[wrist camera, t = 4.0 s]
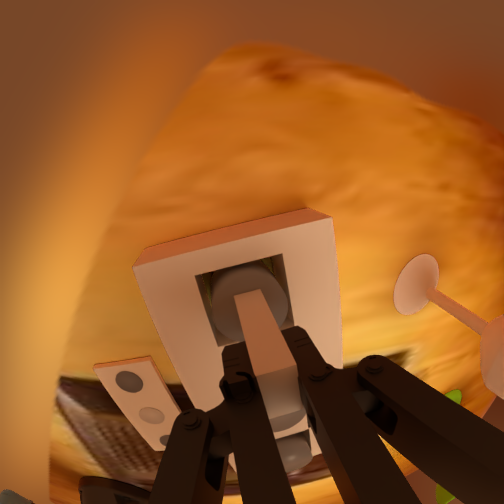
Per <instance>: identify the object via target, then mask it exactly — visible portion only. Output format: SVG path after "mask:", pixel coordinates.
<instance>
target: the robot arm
mask: <svg viewBox="0 0 504 504" xmlns="http://www.w3.org/2000/svg"><path fill="white" fill-rule="evenodd" d="M234 299H235V303H236V307H237V311H238V315H239V318H240V322H241V326H242V330H243V334H244V338H245V341H243V342H239V343H235V344H231V345H227V346H225V347H224V349H223V351H222V353H221V355H222V362H223V370H224V376H223V377H222V378H221V380H220V382H219V388H220V390H221V392H222V395H223V397H224V400H223V402H222V403H221V404H219V405H218V406H217V407H215V408H213V409H211V410H209V411H207V412H205V411H203V410H201V409H196V408H194V409H188V410H185V411H183V412H181V413H180V414H179V415H178V416H177V417H176V419H175V421H174V423H173V426H172V429H171V432H170V435H169V439H168V442H167V445H166V448H165V451H164V454H163V457H162V460H161V463H160V466H159V469H158V472H157V475H156V479H155V482H154V485H153V488H152V491H151V493H149V492H147V491H145V490H142V489H140V488H137V487H134V486H131V485H128V484H125V483H122V482H118V481H114V480H110V479H105V478H99V477H83V478H81V479H80V482H79V487H78V490H79V493H80V500H81V504H222V500H223V494H224V487H225V480H226V474H227V467H228V460H229V454H231V453H233V454H234V459H235V465H236V470H237V476H238V481H239V486H240V491H241V496H242V501H243V504H296V501H295V498H294V495H293V492H292V489H291V486H290V483H289V480H288V477H287V474H286V471H285V468H284V465H283V462H282V459H281V456H280V453H279V449H278V446H277V443H276V440H275V437H274V433H273V430H272V427H271V424H270V421H269V419H271V418H275V417H279V416H282V415H286V414H289V413H292V412H295V411H299V410H302V409H303V406H304V408H305V410H306V415H307V423H308V428H310V427H311V429H312V431H313V434H314V436H315V438H316V441H317V443H318V445H319V447H320V450H321V452H322V454H323V456H324V459H325V461H326V463H327V465H328V468H329V470H330V472H331V474H332V477H333V479H334V481H335V483H336V486H337V488H338V490H339V492H340V494H341V497H342V499H343V501H344V503H345V504H422V503H421V502H420V500H419V499H418V497H417V496H416V494H415V492H414V491H413V490H412V488H411V486H410V484H409V483H408V481H407V480H406V478H405V476H404V475H403V473H402V472H401V470H400V469H399V467H398V465H397V464H396V462H395V461H394V459H393V457H392V456H391V454H390V453H389V451H388V450H387V448H386V447H385V445H384V443H383V442H382V440H381V439H380V437H379V436H378V434H379V435H380V436H381V437H382V438H383V439H384V440H385V441H387V442H388V443H389V444H390V445H391V446H392V447H394V448H395V449H396V450H397V451H398V452H399V453H401V454H402V455H403V456H404V457H405V458H407V459H408V460H409V461H410V462H411V463H413V464H414V465H415V466H416V467H418V468H419V469H420V470H421V471H422V472H424V473H425V474H426V475H427V476H429V477H430V478H431V479H433V480H434V481H435V482H436V483H438V484H439V485H440V486H441V487H443V488H444V489H445V490H447V491H448V492H449V493H451V494H452V495H453V496H455V497H456V498H457V499H459V500H460V501H461V502H463V503H464V504H504V432H502V431H501V430H499V429H497V428H496V427H494V426H493V425H491V424H489V423H488V422H486V421H485V420H483V419H481V418H480V417H478V416H477V415H475V414H473V413H472V412H470V411H469V410H467V409H465V408H464V407H462V406H461V405H459V404H458V403H456V402H454V401H453V400H451V399H450V398H448V397H447V396H445V395H443V394H442V393H440V392H439V391H437V390H436V389H434V388H432V387H431V386H429V385H428V384H426V383H425V382H423V381H422V380H420V379H419V378H417V377H415V376H414V375H412V374H411V373H409V372H408V371H406V370H405V369H403V368H402V367H400V366H399V365H397V364H395V363H394V362H392V361H391V360H389V359H388V358H386V357H384V356H381V355H370V356H367V357H365V358H363V359H362V360H361V361H360V362H359V364H358V366H357V367H354V368H347V369H339V368H334V367H333V366H332V365H331V364H328V363H326V362H325V360H324V359H323V357H322V356H321V354H320V352H319V351H318V349H317V348H316V346H315V344H314V343H313V341H312V340H311V338H310V337H309V335H308V333H307V332H306V330H305V329H303V328H301V327H300V326H298V325H297V326H294V327H290V328H287V329H284V330H280V329H279V327H278V325H277V323H276V321H275V319H274V317H273V315H272V313H271V310H270V308H269V306H268V304H267V302H266V300H265V298H264V296H263V294H262V292H261V290H260V289H258V290H254V291H250V292H246V293H242V294H239V295H235V296H234ZM0 504H35V503H33V501H31V500H28V499H26V498H24V497H22V496H20V495H19V494H17V493H15V492H14V491H11V490H7V489H6V490H3V491H2V492H1V494H0Z"/></svg>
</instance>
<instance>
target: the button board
mask: <svg viewBox="0 0 504 504" xmlns="http://www.w3.org/2000/svg"><path fill="white" fill-rule="evenodd" d="M269 256H271V259H272V264H273V269H274V274H275V279H276V280H277V282H278V283H279V285H280V286H281V288H282V289H283V291H284V293H285V295H286V297H287V301H288V311H287V316H286V318H285V320H284V322H283V324H282V325H281V327H280V328H279V329H280V330H284V329H287V328H290V327H294V326H297V325H298V326H300V327H301V328H303V329H305V330H306V332H307V333H308V335H309V337H310V338H311V340H312V341H313V343H314V344H315V346H316V348H317V349H318V351H319V352H320V354H321V356H322V357H323V359H324V360H325V362H326V363H328V364H331V365H332V366H333V367H334V368H339V369H343V351H342V321H341V303H340V288H339V275H338V264H337V254H336V244H335V236H334V227H333V220H332V217H331V216H328V215H326V214H323V213H320V212H318V211H315V210H313V209H310V208H305V209H301V210H296V211H292V212H287V213H283V214H279V215H274V216H270V217H266V218H262V219H257V220H253V221H249V222H245V223H241V224H237V225H233V226H228V227H224V228H220V229H216V230H212V231H209V232H205V233H201V234H197V235H193V236H189V237H185V238H181V239H178V240H174V241H170V242H166V243H163V244H159V245H155V246H152V247H148V248H145V249H144V251H143V252H142V254H141V255H140V256H139V258H138V259H137V261H136V262H135V264H134V265H133V267H132V269H133V272H134V274H135V277H136V280H137V283H138V285H139V288H140V291H141V293H142V296H143V298H144V301H145V304H146V306H147V308H148V311H149V313H150V316H151V318H152V321H153V323H154V325H155V328H156V330H157V332H158V334H159V337H160V339H161V341H162V343H163V346H164V348H165V350H166V352H167V354H168V356H169V358H170V360H171V362H172V364H173V367H174V369H175V371H176V373H177V375H178V377H179V378H180V380H181V382H182V384H183V386H184V388H185V390H186V392H187V394H188V396H189V397H190V399H191V401H192V403H193V405H194V406H195V408H196V409H201V410H203V411H205V412H207V411H209V410H211V409H213V408H215V407H217V406H218V405H219V404H221V403H222V402H223V400H224V397H223V395H222V392H221V390H220V388H219V382H220V380H221V378H222V377H223V376H224V370H223V362H222V355H221V353H222V351H223V349H224V347H225V346H227V345H231V344H235V343H239V342H237V341H234V340H231V339H229V338H227V337H226V336H224V335H223V334H222V333H221V332H220V331H219V330H218V329H217V327H216V325H215V323H214V320H213V315H212V307H211V304H210V301H209V297H208V294H207V291H206V287H205V284H204V281H203V277H202V274H203V273H207V272H211V271H215V270H219V269H222V268H226V267H230V266H234V265H238V264H242V263H246V262H250V261H254V260H258V259H262V258H265V257H269ZM301 431H303V434H304V436H305V439H306V441H307V444H308V446H309V449H310V451H311V453H312V456H314V455H317V454H320V453H322V452H321V450H320V447H319V445H318V443H317V441H316V438H315V436H314V434H313V431H312V429H311V427H310V428H308V423H307V415H306V414H305V416H304V418H303V419H302V420H301V421H300V422H299V423H297V424H296V425H294V426H293V427H291V428H289V429H286V430H283V431H280V432H273V433H274V437H275V439H277V438H281V437H284V436H288V435H291V434H295V433H298V432H301ZM228 461H229V463H230V464H231V466H232V467H233V469H234V470H235V472H236V473H237V470H236V465H235V459H234V454H233V453H231V454H229V460H228Z"/></svg>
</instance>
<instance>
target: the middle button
mask: <svg viewBox="0 0 504 504" xmlns="http://www.w3.org/2000/svg"><path fill="white" fill-rule="evenodd" d="M305 414H306V410H305V408H304V406H303V409H302V410H299V411H295V412H292V413H289V414H286V415H282V416H279V417H275V418H271V419H269V421H270V424H271V427H272V430H273V432H280V431H283V430H286V429H289V428H291V427H293V426H294V425H296V424H297V423H299V422H300V421H301V420H302V419H303V418H304V416H305Z"/></svg>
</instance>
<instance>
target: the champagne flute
mask: <svg viewBox="0 0 504 504" xmlns="http://www.w3.org/2000/svg"><path fill="white" fill-rule="evenodd" d="M438 279H439V267H438V264H437V261H436V260H435V258H434V257H433V256H431V255H429V254H421V255H418V256H416V257H415V258H413V259H412V260H411V261H410V262H409V263H408V264H407V265H406V266H405V267H404V269H403V270H402V272H401V273H400V275H399V277H398V280H397V282H396V285H395V289H394V305H395V307H396V309H397V310H398V312H400V313H401V314H404V315H411V314H414V313H416V312H418V311H419V310H421V309H422V308H423V307H424V306H425V305H426V304H427V303H428V302H429V300H430V301H432V302H433V303H435V304H436V305H438V306H439V307H441V308H442V309H444V310H445V311H447V312H448V313H450V314H451V315H453V316H454V317H455V318H457V319H458V320H460V321H461V322H463V323H464V324H465V325H467V326H468V327H470V328H471V329H472V330H474V331H475V332H477V333H478V334H479V335H481V342H480V366H481V373H482V377H483V380H484V384H485V385H486V387H487V388H488V389H490V390H491V391H492V392H494V393H495V394H497V395H498V396H500V397H501V398H502V399H504V314H503V315H501V316H498V317H496V318H495V319H493V320H492V321H491V322H490V323H488V322H486V321H485V320H483V319H482V318H480V317H479V316H477V315H475V314H474V313H472V312H471V311H469V310H468V309H466V308H465V307H463V306H462V305H460V304H458V303H457V302H455V301H454V300H452V299H450V298H449V297H447V296H446V295H444V294H442V293H441V292H439V291H437V290H436V287H437V284H438Z"/></svg>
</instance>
